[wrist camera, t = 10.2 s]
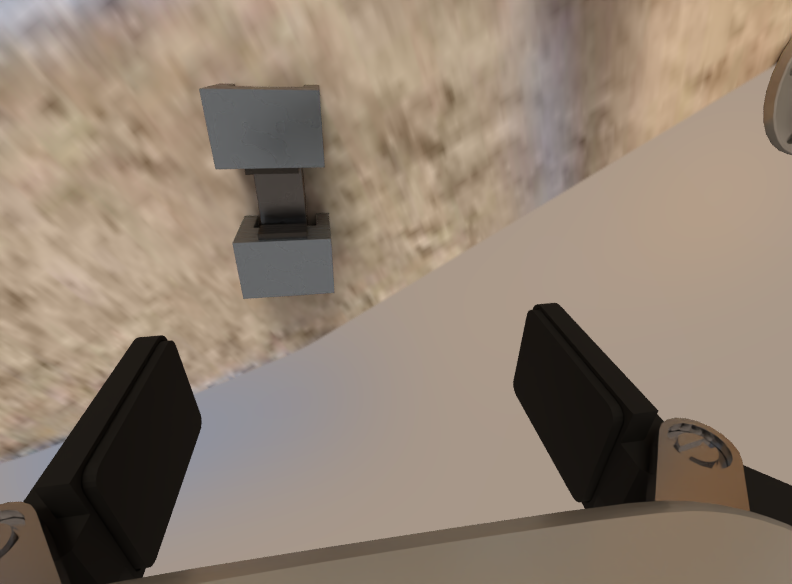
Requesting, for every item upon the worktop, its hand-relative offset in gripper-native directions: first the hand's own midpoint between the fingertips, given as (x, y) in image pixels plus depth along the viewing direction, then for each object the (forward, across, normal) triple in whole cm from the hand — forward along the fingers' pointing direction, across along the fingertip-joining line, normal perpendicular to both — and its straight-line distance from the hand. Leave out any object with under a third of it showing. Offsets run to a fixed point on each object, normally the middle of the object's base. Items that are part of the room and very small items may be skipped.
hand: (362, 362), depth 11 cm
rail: (+20, +4, +1) cm, 21 cm away
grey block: (+20, +4, +5) cm, 21 cm away
